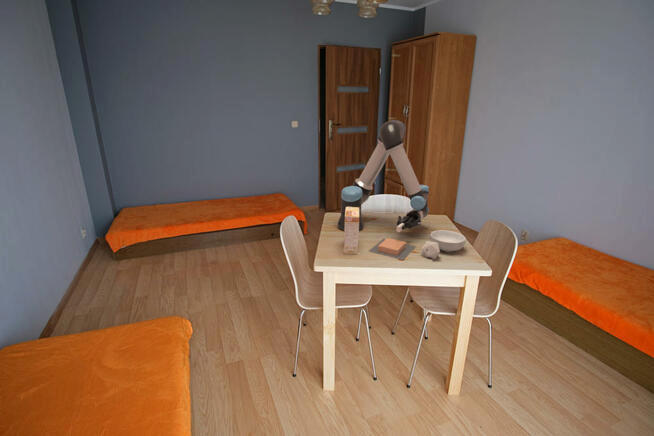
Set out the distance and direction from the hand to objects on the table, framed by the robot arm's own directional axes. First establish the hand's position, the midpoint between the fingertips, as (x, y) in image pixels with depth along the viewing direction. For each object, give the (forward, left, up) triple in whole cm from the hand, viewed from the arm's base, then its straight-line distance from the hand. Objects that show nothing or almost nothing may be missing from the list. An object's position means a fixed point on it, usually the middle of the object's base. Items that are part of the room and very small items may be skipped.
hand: (398, 229), depth 173 cm
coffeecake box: (-19, -13, -10) cm, 25 cm away
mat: (0, -4, -10) cm, 11 cm away
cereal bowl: (+22, +13, -10) cm, 27 cm away
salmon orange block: (0, +1, -8) cm, 8 cm away
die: (+18, -2, -10) cm, 20 cm away
